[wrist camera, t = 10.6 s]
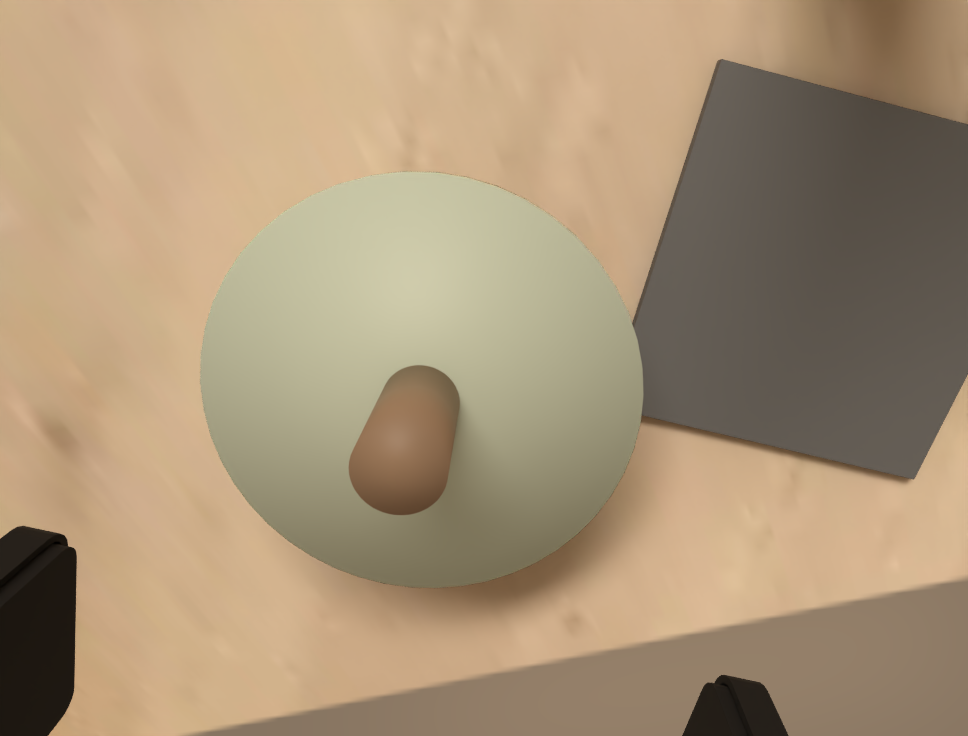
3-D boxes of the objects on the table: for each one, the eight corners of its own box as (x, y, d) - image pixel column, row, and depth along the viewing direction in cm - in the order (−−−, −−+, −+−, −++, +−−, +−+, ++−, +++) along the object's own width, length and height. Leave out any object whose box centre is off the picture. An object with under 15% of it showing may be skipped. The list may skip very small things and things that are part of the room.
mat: (1068, 154, 30) (1080, 154, 30) (907, 474, 36) (913, 479, 35) (717, 61, 29) (721, 59, 29) (606, 403, 35) (608, 407, 34)
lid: (697, 229, 25) (766, 258, 18) (575, 610, 31) (595, 733, 24) (228, 122, 24) (129, 112, 18) (193, 533, 30) (107, 639, 23)
